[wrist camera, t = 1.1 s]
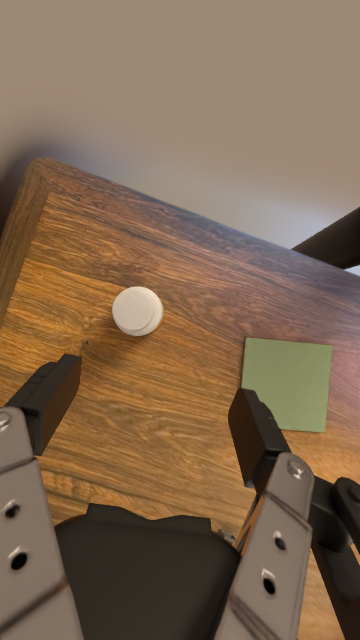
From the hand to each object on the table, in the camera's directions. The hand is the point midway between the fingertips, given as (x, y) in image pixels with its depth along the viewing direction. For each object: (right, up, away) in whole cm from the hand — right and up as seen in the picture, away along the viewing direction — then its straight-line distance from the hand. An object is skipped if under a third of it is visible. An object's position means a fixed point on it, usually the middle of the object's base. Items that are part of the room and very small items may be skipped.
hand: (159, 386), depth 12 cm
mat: (+15, -6, +21) cm, 27 cm away
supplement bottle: (-4, +4, +21) cm, 21 cm away
